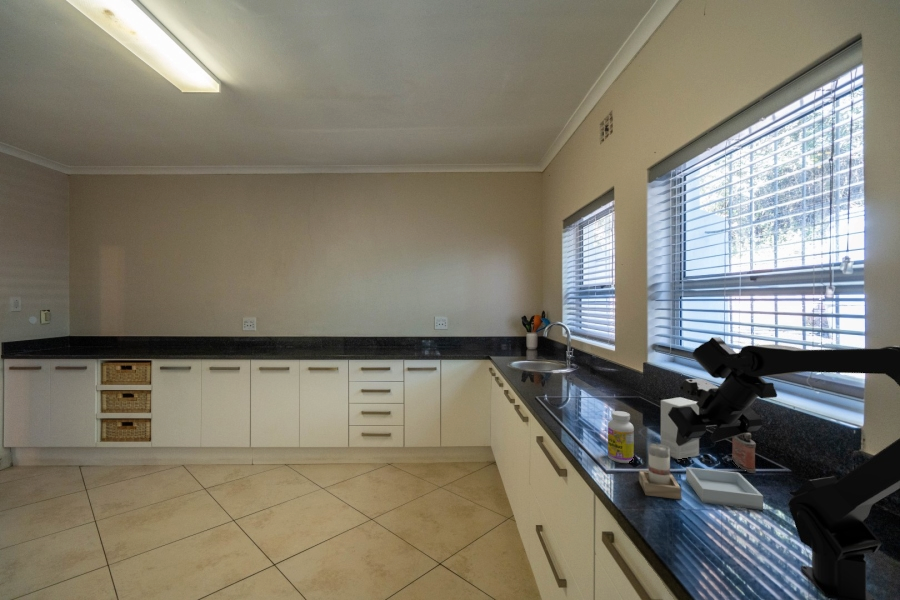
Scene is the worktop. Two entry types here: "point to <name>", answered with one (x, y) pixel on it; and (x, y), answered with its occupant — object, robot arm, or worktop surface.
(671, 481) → the holder
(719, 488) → the tray
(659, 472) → the white domed canister
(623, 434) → the supplement bottle
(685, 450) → the skincare box
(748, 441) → the lighter
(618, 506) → the worktop surface
